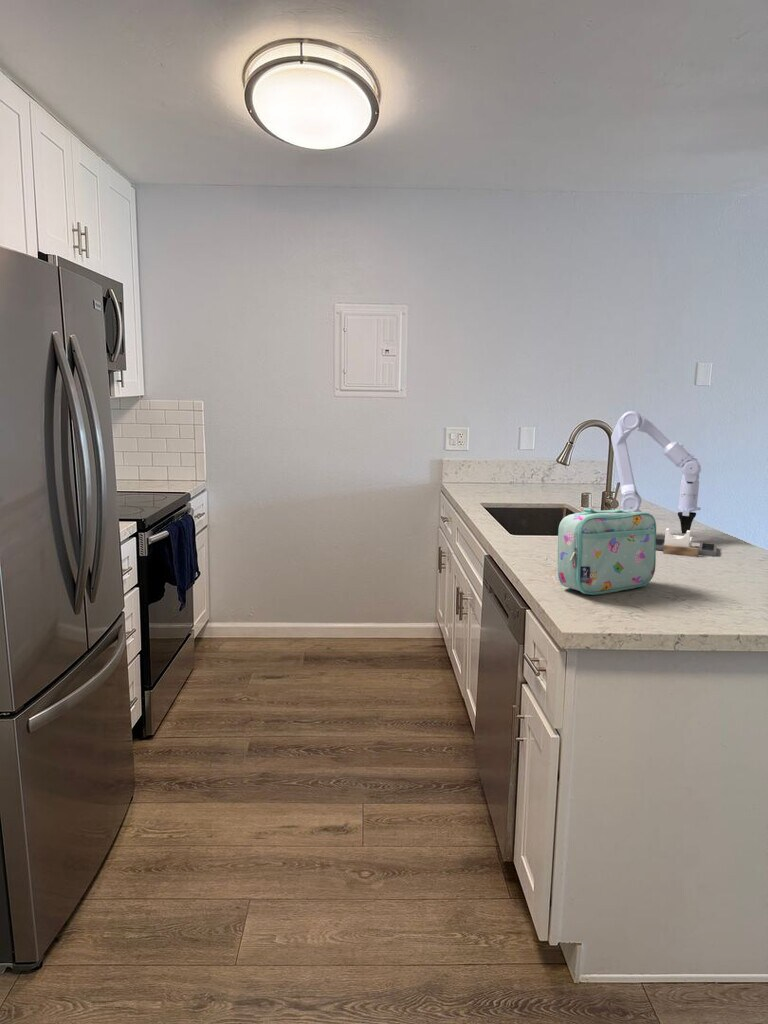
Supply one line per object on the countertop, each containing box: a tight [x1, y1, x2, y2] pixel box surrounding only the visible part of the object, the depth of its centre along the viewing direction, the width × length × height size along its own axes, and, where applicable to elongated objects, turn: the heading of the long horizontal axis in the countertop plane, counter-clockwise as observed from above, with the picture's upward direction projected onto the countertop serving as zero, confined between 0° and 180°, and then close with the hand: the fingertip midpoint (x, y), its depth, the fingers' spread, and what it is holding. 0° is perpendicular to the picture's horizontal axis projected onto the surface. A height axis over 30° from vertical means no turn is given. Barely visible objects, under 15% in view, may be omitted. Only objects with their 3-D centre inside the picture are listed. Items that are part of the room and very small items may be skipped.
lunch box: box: [557, 507, 657, 596], centre depth 172 cm, size 27×10×21 cm, turn 114°
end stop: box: [662, 545, 699, 558], centre depth 210 cm, size 10×2×2 cm, turn 63°
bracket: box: [664, 527, 693, 547], centre depth 217 cm, size 13×7×8 cm, turn 151°
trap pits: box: [656, 537, 718, 557], centre depth 218 cm, size 20×12×2 cm, turn 63°
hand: (685, 533), depth 228 cm, fingers closed
